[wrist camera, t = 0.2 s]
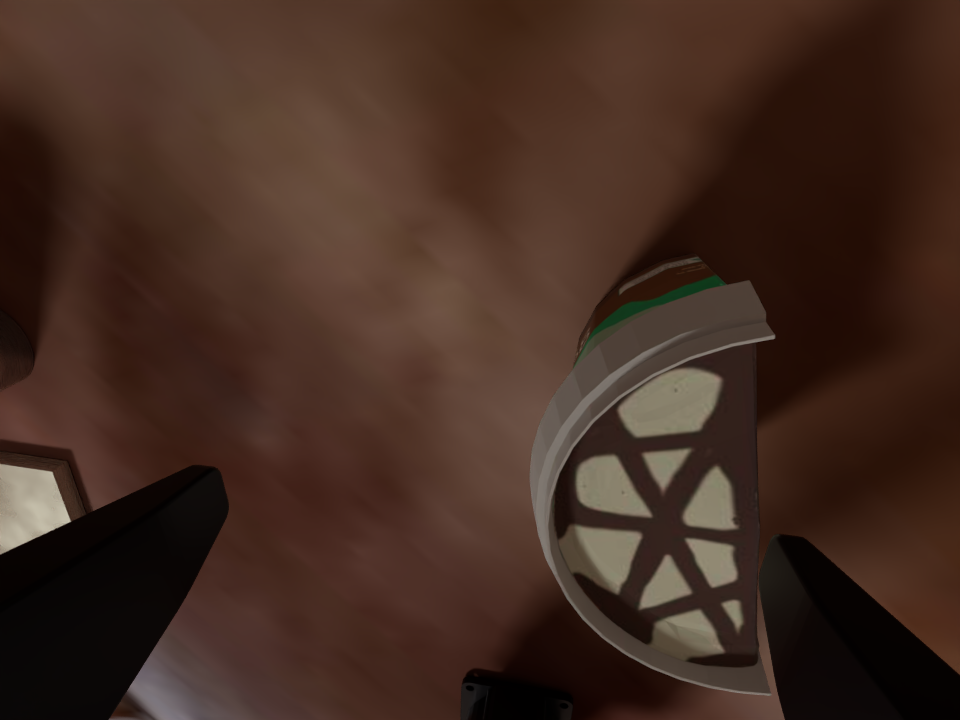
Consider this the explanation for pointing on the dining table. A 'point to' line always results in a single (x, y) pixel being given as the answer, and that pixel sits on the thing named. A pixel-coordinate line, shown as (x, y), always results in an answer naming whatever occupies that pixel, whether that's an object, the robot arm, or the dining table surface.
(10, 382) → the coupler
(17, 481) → the stand
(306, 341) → the dining table surface
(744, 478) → the food container
